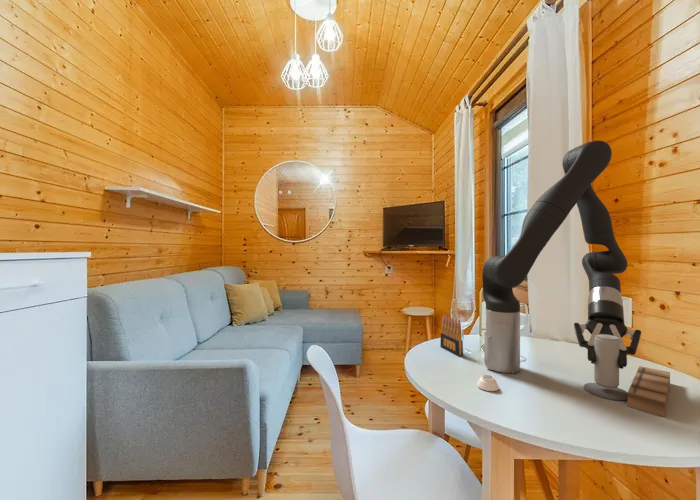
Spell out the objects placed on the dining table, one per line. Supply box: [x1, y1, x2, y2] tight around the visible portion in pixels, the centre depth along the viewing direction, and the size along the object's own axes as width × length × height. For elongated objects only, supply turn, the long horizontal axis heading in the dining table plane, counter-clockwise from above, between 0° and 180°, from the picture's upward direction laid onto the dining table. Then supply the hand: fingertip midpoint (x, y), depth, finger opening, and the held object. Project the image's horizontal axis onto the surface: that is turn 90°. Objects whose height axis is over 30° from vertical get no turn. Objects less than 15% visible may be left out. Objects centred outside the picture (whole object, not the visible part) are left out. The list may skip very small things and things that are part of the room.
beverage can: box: [593, 334, 620, 388], centre depth 79 cm, size 5×5×12 cm
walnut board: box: [626, 365, 671, 417], centre depth 78 cm, size 24×6×3 cm, turn 133°
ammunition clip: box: [439, 314, 464, 357], centre depth 110 cm, size 11×2×12 cm, turn 17°
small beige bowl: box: [476, 374, 500, 392], centre depth 81 cm, size 5×3×5 cm
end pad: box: [583, 382, 628, 402], centre depth 79 cm, size 9×9×1 cm
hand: (606, 364), depth 77 cm, fingers closed on beverage can, 4 cm apart
